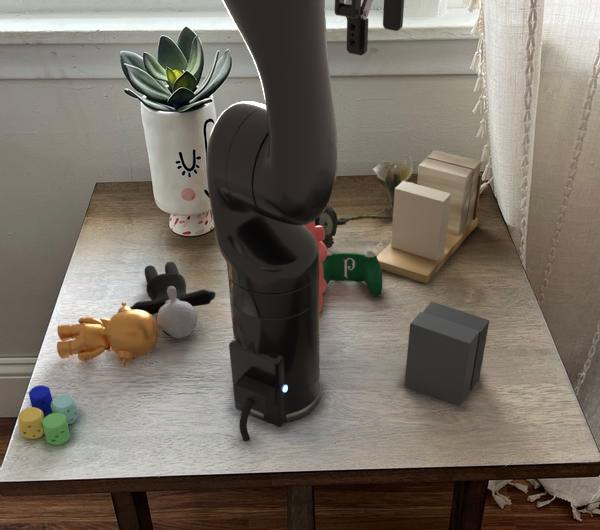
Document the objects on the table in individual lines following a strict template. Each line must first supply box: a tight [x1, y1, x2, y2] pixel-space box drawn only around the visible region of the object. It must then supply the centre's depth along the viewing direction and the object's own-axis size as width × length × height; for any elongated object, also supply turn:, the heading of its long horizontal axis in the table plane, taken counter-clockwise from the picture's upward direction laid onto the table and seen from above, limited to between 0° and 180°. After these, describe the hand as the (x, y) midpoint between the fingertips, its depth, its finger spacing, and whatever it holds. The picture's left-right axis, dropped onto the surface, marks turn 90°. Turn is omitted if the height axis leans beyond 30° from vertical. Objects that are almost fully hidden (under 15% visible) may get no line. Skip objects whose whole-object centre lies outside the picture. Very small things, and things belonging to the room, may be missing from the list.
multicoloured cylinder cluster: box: [17, 384, 80, 446], centre depth 90 cm, size 8×3×6 cm
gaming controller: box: [322, 249, 383, 297], centre depth 109 cm, size 9×4×6 cm
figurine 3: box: [304, 221, 328, 313], centre depth 101 cm, size 5×5×15 cm
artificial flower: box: [315, 155, 417, 249], centre depth 120 cm, size 9×22×10 cm, turn 127°
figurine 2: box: [129, 261, 216, 339], centre depth 104 cm, size 11×6×15 cm
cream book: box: [390, 181, 451, 261], centre depth 110 cm, size 2×7×9 cm, turn 58°
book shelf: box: [376, 149, 483, 284], centre depth 113 cm, size 17×8×10 cm, turn 148°
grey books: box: [404, 300, 490, 407], centre depth 92 cm, size 6×7×9 cm
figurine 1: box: [56, 301, 160, 368], centre depth 98 cm, size 8×6×12 cm
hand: (375, 40), depth 92 cm, fingers open, 8 cm apart
